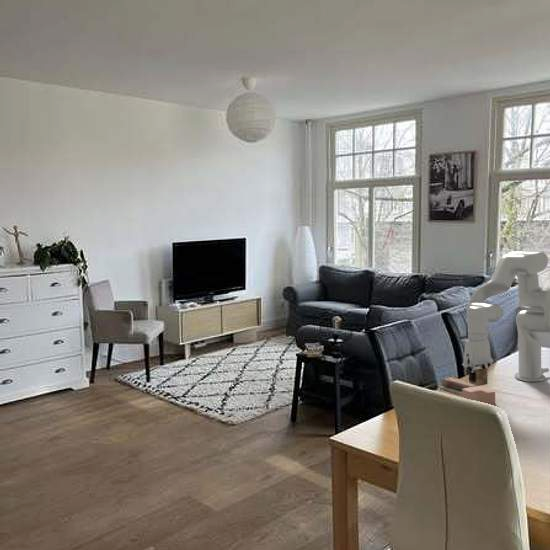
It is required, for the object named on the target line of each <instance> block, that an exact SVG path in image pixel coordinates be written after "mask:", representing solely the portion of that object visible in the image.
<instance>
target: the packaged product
mask: <svg viewBox="0 0 550 550" xmlns="http://www.w3.org/2000/svg"><path fill="white" fill-rule="evenodd" d="M441 382H442V383H441V385H439V389H440V390H443V391H446V392H449V393H452V394H455V395H459V396H461V397H462V389H464V388H470V387H475V386H476V385H473V384H471V383H469V381H466V380H463V379H460V378H457V377H453V376H450V377H446V378H442V380H441Z"/></svg>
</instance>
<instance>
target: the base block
mask: <svg viewBox="0 0 550 550" xmlns="http://www.w3.org/2000/svg"><path fill="white" fill-rule="evenodd" d="M462 397H464V398H467V399H471V400H476V401H480V402H484V403H488V404H491V405H495V404H496V391H495V390H492V389H490V388H487V387H484V386H483V385H481V386H475V387H470V388H464V389H462V396H461V398H462Z"/></svg>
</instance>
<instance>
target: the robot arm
mask: <svg viewBox="0 0 550 550" xmlns="http://www.w3.org/2000/svg"><path fill="white" fill-rule="evenodd" d="M548 264H549V257H548V255H547V253H545V252H544V251H538V250H537V251H536V250H535V251H529V250H527V251H526V250H514V251H510V252H508V253H507V254H504V255H502V256H501V257H500V258H499V260H498V262H497V265H496V267H495V269H494V271H493V273H492V276H491V278H490V280H489V281H488V282H486V283H484V284H483V285H481V286H480V287H478V288H477V289H476V290H475V291H474V292H473V293H472V295H471V297H470V299H469V300H468V304H467V306H466V311H465V312H466V317H467V339H466V341H465V344H464V353H463V362H462V363H461V365H462V366H463V367H464V368H465V370H467V372H468V382H469V381H472V382H476V373H475V372H474V371H475V368H476V367H477V366H480V368H483V369H486V370H487V372H488V371H489V368H490V367H491V365H492V364H493V363H494V359H493V358H492V355H491V344H490V341H489V338H488V337H489V335H490V333H489V331H488V330H489V329H488V326H489V325H488V324H490V323H497V322H499V321H500V320H501V319H503V315H504V309H503V307H501V306H500V305H499V304H495V303H487V302H485V301H486V300H488V299H489V298H492V297H494V296H499V295H501V294H505V293H507V292H509V290H510V289H511V287H512V284H513V282H514V281H515V277H516V278H517V288H518V301H519V305H520V306H522V307H524V308H528V309H524V310H520V311H518V312H517V314H516V316H515V323H516V330H517V335H518V336H517V338H518V372H517V373H515V374H514V378H515V379H517V380H520V381H523V382H529V383H530V382H531V383H537V382H543V381H545V380H546V376H545V375H544V373H549V372H550V369H549V368H548V367H545V368H543V367H542V339H541V337H540V335H539V334H538V333H543V334H550V287H540V283H539V274H538V273H541V272H543V271H544V270H546V269H547V267H548ZM529 308H530V309H529ZM532 309H538V310H532Z"/></svg>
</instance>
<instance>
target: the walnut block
mask: <svg viewBox="0 0 550 550" xmlns="http://www.w3.org/2000/svg"><path fill="white" fill-rule="evenodd" d="M474 372H475V373H476V382H472V381H469V380H468V382H469V383H471V384H473V385H476V386H485V385H486V386H487V385H488V371H487V370H486V369H483V368H481V366H476V367H475V371H474Z"/></svg>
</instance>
